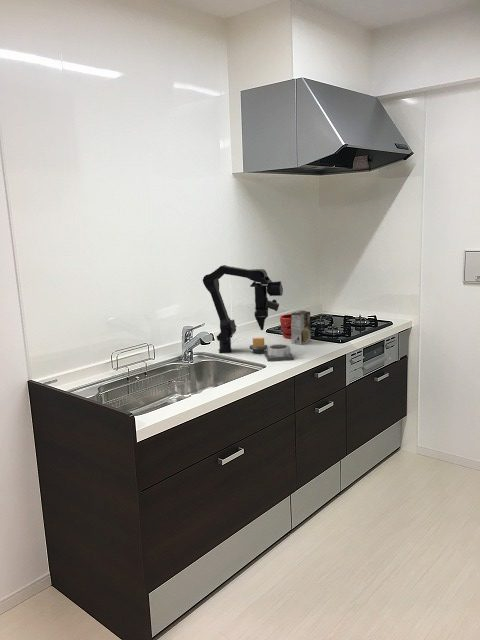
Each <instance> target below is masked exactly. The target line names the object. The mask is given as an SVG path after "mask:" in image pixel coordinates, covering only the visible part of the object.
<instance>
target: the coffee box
mask: <svg viewBox="0 0 480 640" xmlns="http://www.w3.org/2000/svg"><path fill="white" fill-rule="evenodd" d="M290 314H291V332H292V339H291V344H293V345H298V346H303V345H305V344H308V343H311V342H312V340H311V337H312V336H311V311H307V310H298V311H295V312H291V313H290Z"/></svg>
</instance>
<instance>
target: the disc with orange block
mask: <svg viewBox="0 0 480 640" xmlns="http://www.w3.org/2000/svg"><path fill="white" fill-rule="evenodd" d="M267 346H268V344H265V337H252V344H251V345H249V350H251V351H252V354H256V355H257V354H258V355H259V354H264V352H266V351H267Z"/></svg>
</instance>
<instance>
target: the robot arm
mask: <svg viewBox="0 0 480 640" xmlns="http://www.w3.org/2000/svg"><path fill="white" fill-rule="evenodd" d="M224 275H228V276H235V277H240V278H246V279H248V280H251V281H253V282H252V283H251V284H250V285H249V287H251V288H253V287H254V304H255V305H254V309H255V311H254V318H255V320H256V322H257V324H258V326H259V329H260V331H264V327H265V321H266V320H267V318H268V317H269V309H270V310H274V311H275V312H278V310H279V308H280V303H279V302H277V299H273V300H269V298H268V295H269V296H270V297H276V296H277V297H282V296H283V295H284V294H283V293H284V287H283V284H282V281H281V280H279V281H272V279H271V278H270V277H269V276H268V273H267V271H266V270H265V269H263V268H253V269H252V268H251V269H248V268H241V267H236V266H229V265H225V264H224V265H220V266H219V267H218V268H216V269H215V270H214V271H212V272H211V273H209V274H206V275H204V276H203V277H202V283H203V285H204V287H205V289H206V291H208V293H209V294H210V295H211V299H212V302H213V304H214V308H215V310H216V314H217V316H218V319H219V329H220V330H219V331H220V333H219V334H217V335H216V340H217V341H218V342H219V343H218V345H219V349H218V353H219V354H222V353H233V349H232V338H233V335H234V334H236V331H237V325H236V321H235V319H233V318H232V319H231V318H230V317H229V314H228V311H227V309H226V306H225V303H224V299H223V296H222V295H221V292H220V279H221V278H222V277H223V276H224Z"/></svg>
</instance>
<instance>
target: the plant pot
mask: <svg viewBox="0 0 480 640" xmlns="http://www.w3.org/2000/svg"><path fill="white" fill-rule="evenodd" d="M279 322H280V328H281V332H282V334H281V335H282V337H283V338H285V339H289V340H292V332H291V313H286V314H283V315H281V316H279Z"/></svg>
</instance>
